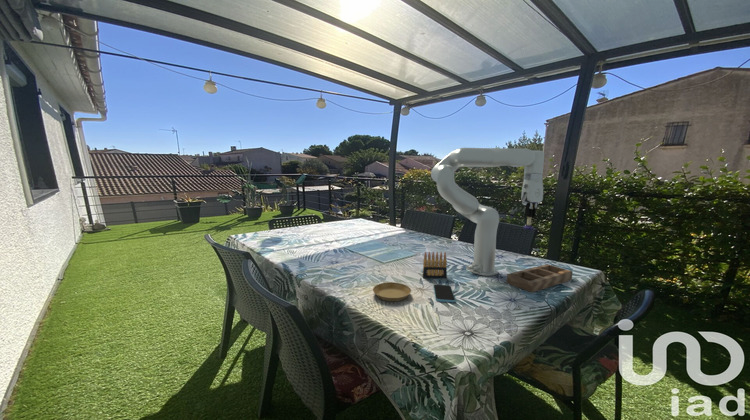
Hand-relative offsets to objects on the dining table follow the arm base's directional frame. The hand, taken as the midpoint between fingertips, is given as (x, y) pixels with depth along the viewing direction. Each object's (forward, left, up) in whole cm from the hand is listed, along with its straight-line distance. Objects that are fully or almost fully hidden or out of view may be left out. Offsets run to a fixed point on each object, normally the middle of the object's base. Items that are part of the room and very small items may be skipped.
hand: (529, 216), depth 128 cm
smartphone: (-53, -1, -28) cm, 60 cm away
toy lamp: (0, 0, -6) cm, 6 cm away
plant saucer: (-72, +7, -27) cm, 77 cm away
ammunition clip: (-45, +14, -27) cm, 54 cm away
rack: (-7, -11, -27) cm, 30 cm away
